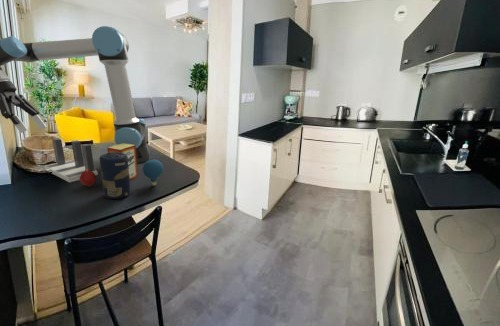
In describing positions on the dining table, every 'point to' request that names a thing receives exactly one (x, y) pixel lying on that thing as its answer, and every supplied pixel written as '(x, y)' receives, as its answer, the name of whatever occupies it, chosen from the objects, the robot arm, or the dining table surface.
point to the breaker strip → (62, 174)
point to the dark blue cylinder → (115, 175)
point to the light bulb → (153, 170)
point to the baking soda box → (131, 154)
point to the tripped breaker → (58, 151)
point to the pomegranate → (88, 178)
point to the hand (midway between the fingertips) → (34, 129)
